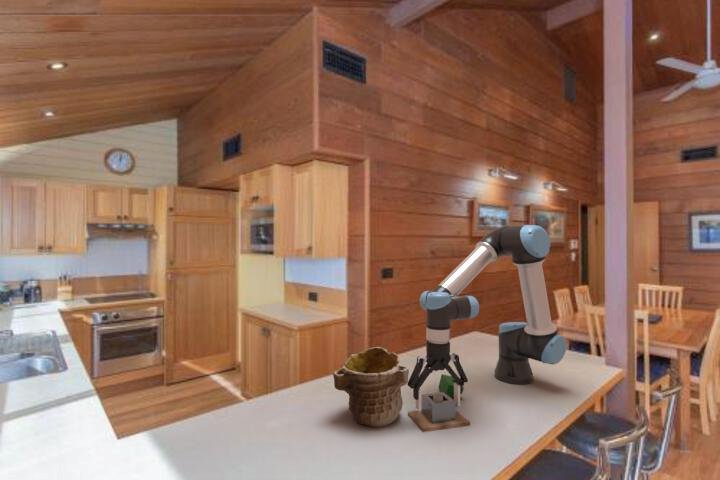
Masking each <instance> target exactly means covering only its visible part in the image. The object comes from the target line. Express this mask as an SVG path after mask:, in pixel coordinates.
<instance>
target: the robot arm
mask: <svg viewBox="0 0 720 480" xmlns="http://www.w3.org/2000/svg"><path fill="white" fill-rule="evenodd" d="M550 248H551V239H550V235H549V234H548V232H547V231H546V230H545V229H544V228H543V227H541V226H540V225H532V224H522V225H521V224H518V225H502V226H499V227H498V228H495V229H493V230H492V231H490V232H489V233H487V234H486V235H484V237H482V238H481V239H480V240H479V241H478V242H477V243H476V244H475V247H474V249H473V250H472V251H471V253H470V254H469V255H468V256H466V257H465V258H464V259H463V261H461V262H460V263H459V264H458V265H457V266H456V267H455V268H454V269H453V270H452V271H451V272H450V273H449V274H448V275H447V276H446V277H445V278H444V279H443V280H442V281H441V282H440V283H439V284H438V285H437V286H436V287H435V288H434V289H433V290H425V291H423V292H422V293H421V295H420V297H419V306H420V307H421V309H423V310H424V311H425V312H426V313H425V314H426V316H425V318H426V319H425V320H426V321H425V323H426V327H425V328H426V330H425V331H426V332H425V333H426V337H425V339H426V341H425V344H426V345H425V346H426V347H425V348H426V350H425V351H426V352H425V353H426V356H424V357H423V356H422V357H421V356H420V355H419V356H417V357H416V363H415V366H414V367H413V370H412V372H411V374H410V377H409V378H408V383H407V384H406V385H407V386H408V387H409V388H410V389H411V390H413V391H412V392H413V394H412V396H413V399H414V400H415V408H416V409H417V410H419V411H421V395H422V389H421V387H422V386H423V384H424V383H425V381H426V380H427V378H429V376H430V374H432V373H433V372H437V371H444V370H446V371H447V373H448V374H449V376H452V377H453V378H454V380H455V381H456V382H457V383H454V396H453V400H454V401H455V402H456V406H457V407H460V406H461V395H462V394H463V392H462V386H463V387H464V386H465V383H466V384H467V383H468V381H469V379H468V378H467V375H466V373H465V371H464V369H463V366H462V364H461V362H460V356H459V355H458V354H456V353H455V352H453V353H452V354H450V353H451V342H450V341H451V322H452V321H461V320H462V321H463V320H470V319H472V318H476V317H477V316H478V314H479V312H480V304H479V302H478V300H477V298H476V297H475V296H472V295H461V296H459V294H461V292H463V291H464V289H466V288H467V286H468V285H469V284H470V283H472V281H473V280H474V279H475V278H476V277H477V276H478V275H479V274H480V273H481V272H482V271H483V270H484V269H485V268H486V267H487V266H488V265H489V264H490V263H492V262H493V263H494V262H495V261H497V260H498V258H501V257H503V256H504V257H505V256H507V257H511V261H512V264H513V265H515V266H516V267H517V270H518V277H519V282H520V283H519V284H520V289H521V295H522V301H523V305H524V307H523V308H524V312H525V317H526V318H525V319H526V322H523V321H512V322H511V321H509V322H503V323H501V324H499V326H498V333H497V334H498V360H497V362H496V365H495V368H494V371H493V372H494V377H495V379H497V380H498V381H501V382H504V383H508V384H513V385H527V384H530V383H533V381H534V374H533V371H532V370H533V369H532V368H531V365H530V360H535V361H537V362H540V363H543V364H547V365H551V366H552V365H557V364H559V363H560V362H561V361H562V359H563V358H564V356H565V354H566V351H567V339H566V337H565V336H563V335H562V334H560V333H559V332H558V328H557V325H556V324H554V323H553V322H552V317H551V310H550V305H549V299H548V293H547V287H546V286H547V285H546V280H545V274H544V269H543V263H544V261H545V260H546V257H547V255H548V254H549V253H550V250H551V249H550ZM529 359H530V360H529ZM450 362H452V364H453V365H454V367H455V369H456V371H457V373H458V374H457V373H456V372H455V371H454V369H452V366H450V364H449V363H450ZM424 365H425V366H424ZM423 367H424V368H423ZM460 394H461V395H460Z"/></svg>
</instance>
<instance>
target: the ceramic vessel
mask: <svg viewBox="0 0 720 480" xmlns="http://www.w3.org/2000/svg"><path fill="white" fill-rule="evenodd" d="M409 372H410V368H409V367H408V366H405V365H402V364H401V363H400V360H399V355H398V354H396V353H395V352H388V349H387V348H383V347H382V346H373V347H370V348H368V349H365V350H364V351H362V350H361V351H360V352H358V353H353V354H350V356H349V357H348V358H347V359H346V360H345V361H344V362H343V363H342V365H341V366H340V368H339V369H338V370H333V373H332V376H333V380H334V381H333V382H334V383H333V385H334V389H335V390H337V391H342V392H345V393H347V395H348V397H349V398H348V410H349V411H350V413H351V414H352V416H353V418H354V420H355V422H357V423H358V424H361V425H365V426H370V427H375V428H381V427H386V426H389V425H391V424H392V423H393V422H394V421H395V420H396V419H397V418H398V416H399V415H400V414H401V411H402V409H403V405H404V404H403V403H404V402H403V397H402V387H404V386H406V385H407V384H408V381H409Z"/></svg>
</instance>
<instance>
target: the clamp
mask: <svg viewBox="0 0 720 480" xmlns="http://www.w3.org/2000/svg"><path fill="white" fill-rule="evenodd" d="M454 383H457V382H456V381H455V380H454V378H453V377H452V376H451V375H448V374H447V375H446V374H443V373H441V376H440V380H439V383H438V390H439V393H440V392H444V393H445V394H446V395H448V396H449V397H450V398H452V399H453V397H454ZM464 390H465V387H464V386H462V393H463V392H464ZM461 395H462V394H460V396H461Z"/></svg>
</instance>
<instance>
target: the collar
mask: <svg viewBox="0 0 720 480" xmlns="http://www.w3.org/2000/svg"><path fill="white" fill-rule="evenodd" d="M435 393H436V392H433V393H425V394H421V413H422V414H423V415H424V416H425V417H426V418H427V419H428V420H429V421H430V422H431V423H432V424H436V423H443V422H450V421H456V411H457V410H456V409H457V408H456V406H457V405H456V402H455V401H454V398H453V397H452V398H450V397H449V396H448V395H446V394H445V393H444V392H440V391H439V393H440V394H442V395H443V401H440V402H434V401H433V394H435Z"/></svg>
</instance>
